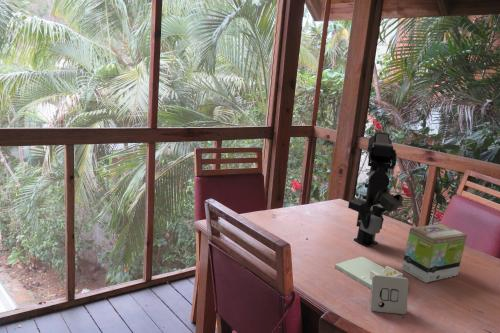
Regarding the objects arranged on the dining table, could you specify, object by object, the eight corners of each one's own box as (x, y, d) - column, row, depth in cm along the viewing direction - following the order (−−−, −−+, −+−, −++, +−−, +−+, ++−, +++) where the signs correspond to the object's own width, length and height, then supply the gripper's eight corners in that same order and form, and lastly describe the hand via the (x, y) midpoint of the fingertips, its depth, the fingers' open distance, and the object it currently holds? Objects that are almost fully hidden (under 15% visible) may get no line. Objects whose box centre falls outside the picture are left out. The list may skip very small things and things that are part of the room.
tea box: (426, 284, 122) (435, 239, 118) (400, 269, 130) (408, 226, 127) (458, 276, 129) (468, 233, 125) (432, 262, 137) (440, 222, 134)
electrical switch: (370, 311, 105) (374, 277, 104) (365, 302, 110) (369, 270, 109) (406, 316, 104) (411, 281, 103) (400, 306, 109) (405, 274, 108)
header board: (334, 267, 128) (336, 254, 127) (361, 259, 135) (363, 247, 134) (378, 293, 114) (380, 279, 113) (405, 283, 122) (408, 269, 120)
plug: (367, 227, 137) (369, 213, 136) (379, 232, 133) (381, 218, 132) (359, 229, 135) (361, 215, 134) (371, 234, 131) (374, 220, 130)
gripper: (379, 192, 118) (371, 241, 122) (416, 186, 129) (408, 232, 133) (350, 182, 127) (343, 228, 131) (387, 178, 138) (380, 220, 141)
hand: (370, 227), depth 134 cm, fingers closed on plug, 4 cm apart
